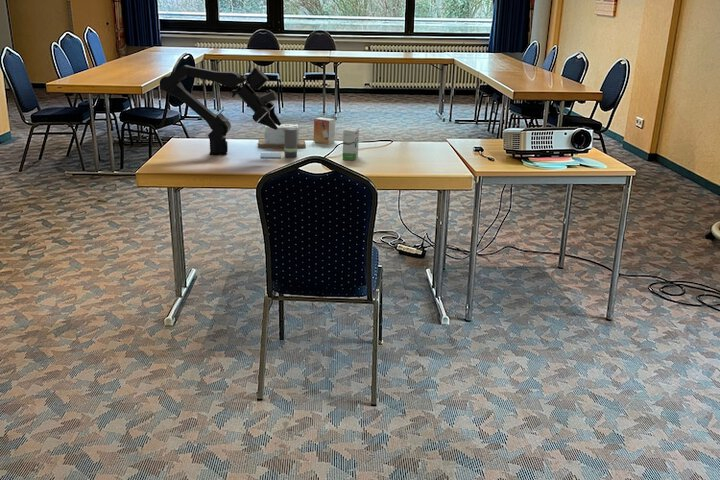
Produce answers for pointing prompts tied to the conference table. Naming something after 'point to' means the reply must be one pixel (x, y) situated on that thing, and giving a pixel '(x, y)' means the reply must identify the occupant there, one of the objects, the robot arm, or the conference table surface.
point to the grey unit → (279, 137)
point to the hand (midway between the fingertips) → (278, 126)
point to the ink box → (350, 143)
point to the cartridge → (290, 142)
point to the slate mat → (270, 155)
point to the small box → (324, 130)
